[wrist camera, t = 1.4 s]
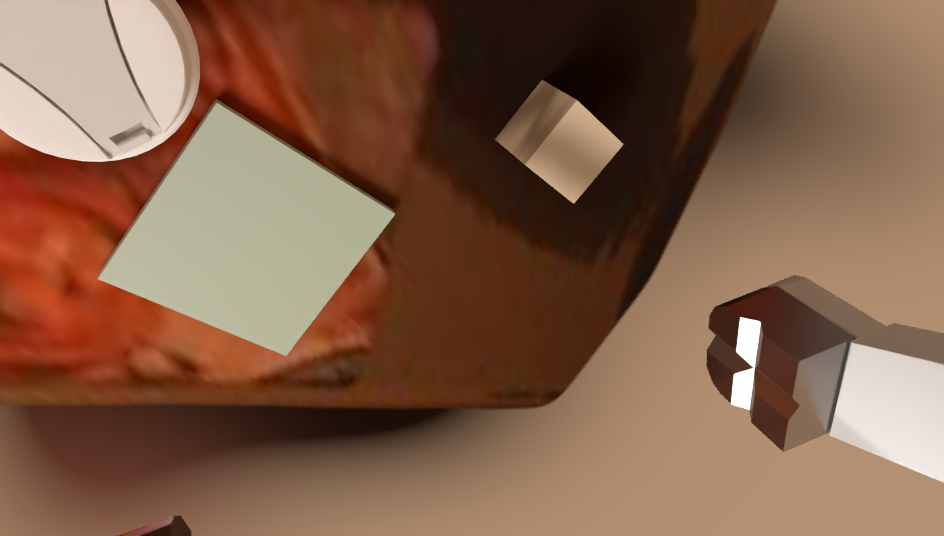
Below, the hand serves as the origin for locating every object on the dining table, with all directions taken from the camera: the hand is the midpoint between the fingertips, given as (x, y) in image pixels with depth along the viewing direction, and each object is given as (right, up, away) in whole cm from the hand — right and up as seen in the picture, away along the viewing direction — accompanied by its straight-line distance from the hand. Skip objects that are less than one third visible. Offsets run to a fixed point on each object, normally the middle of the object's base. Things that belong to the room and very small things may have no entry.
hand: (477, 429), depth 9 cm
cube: (+5, +12, +36) cm, 38 cm away
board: (-14, +4, +32) cm, 35 cm away
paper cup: (-18, +16, +23) cm, 34 cm away
